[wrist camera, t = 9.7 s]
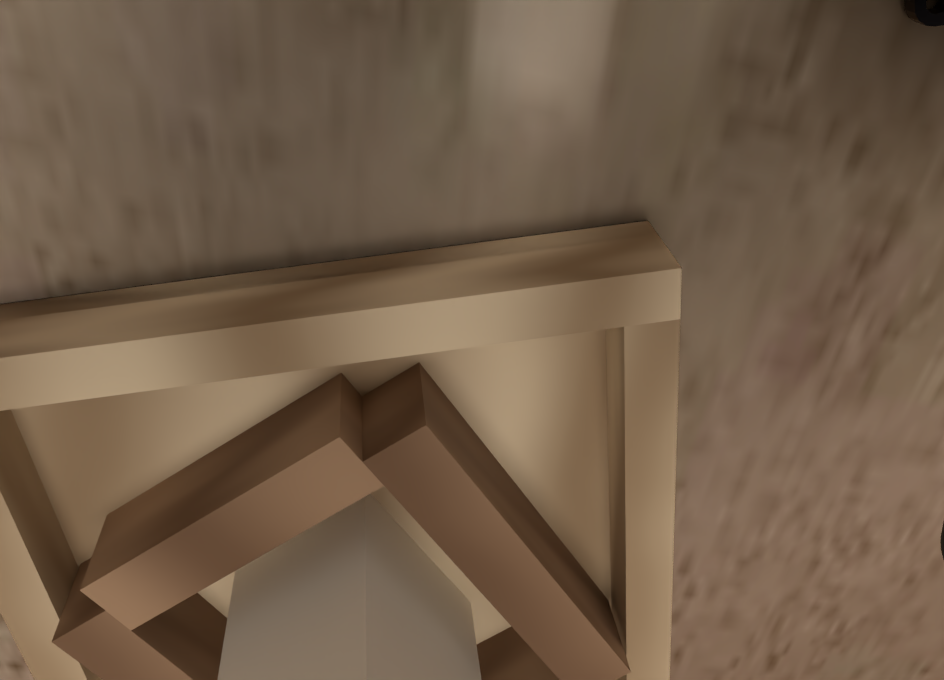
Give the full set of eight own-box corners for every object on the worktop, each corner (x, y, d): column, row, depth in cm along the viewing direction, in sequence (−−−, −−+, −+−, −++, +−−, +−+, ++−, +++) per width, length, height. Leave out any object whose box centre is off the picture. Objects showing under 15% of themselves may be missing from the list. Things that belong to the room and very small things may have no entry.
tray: (647, 220, 21) (694, 285, 18) (643, 726, 30) (674, 823, 27) (-69, 313, 20) (-140, 396, 17) (153, 803, 29) (131, 910, 26)
